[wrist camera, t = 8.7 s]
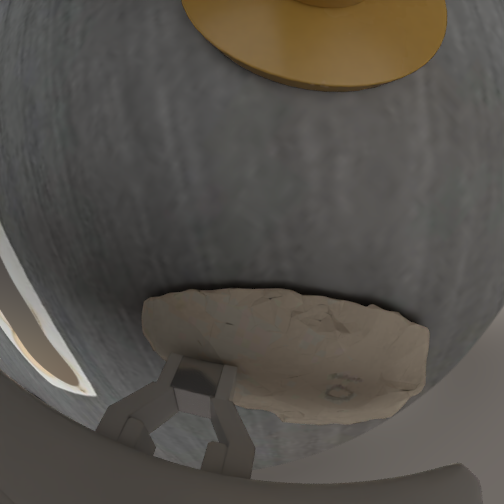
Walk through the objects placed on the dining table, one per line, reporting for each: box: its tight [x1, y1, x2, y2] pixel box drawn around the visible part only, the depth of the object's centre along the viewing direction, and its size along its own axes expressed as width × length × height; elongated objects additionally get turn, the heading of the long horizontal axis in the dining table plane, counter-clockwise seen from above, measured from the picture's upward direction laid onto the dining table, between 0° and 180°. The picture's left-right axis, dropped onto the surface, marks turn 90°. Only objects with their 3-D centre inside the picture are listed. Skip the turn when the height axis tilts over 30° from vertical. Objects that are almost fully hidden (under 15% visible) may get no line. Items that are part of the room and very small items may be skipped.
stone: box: [141, 287, 430, 425], centre depth 10 cm, size 8×14×2 cm, turn 76°
